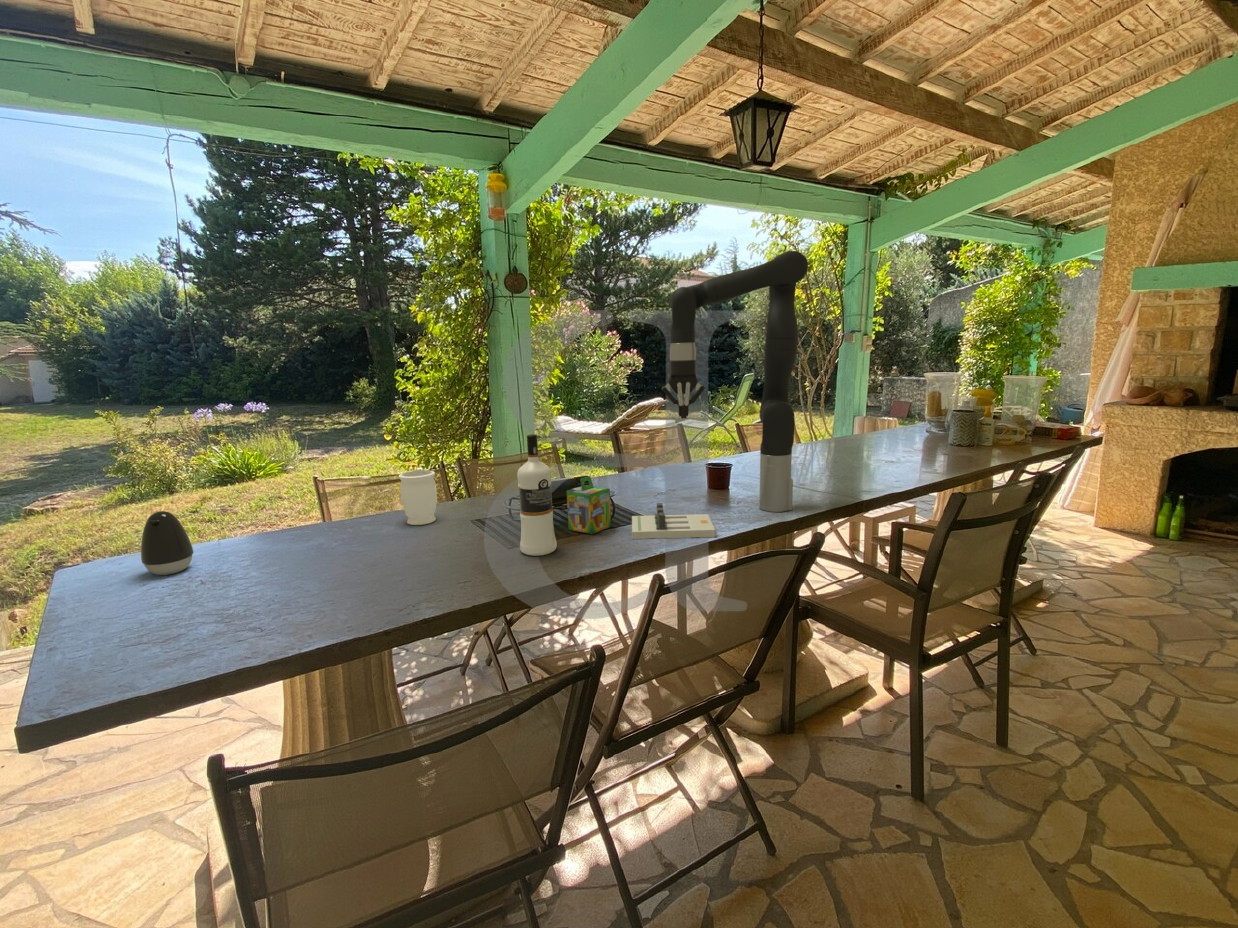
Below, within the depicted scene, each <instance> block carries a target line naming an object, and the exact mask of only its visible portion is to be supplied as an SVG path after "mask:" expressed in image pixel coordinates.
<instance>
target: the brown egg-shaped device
mask: <svg viewBox="0 0 1238 928" xmlns="http://www.w3.org/2000/svg"><path fill="white" fill-rule="evenodd" d="M141 536H142V537H141V544H140V561H141V564H143V565H144V567H145V568H146V570H147V571H148V572H150V573H151V574H154V575H158V576H169V575H174V574H177V573H180V572H182V571H184V570H185V569H187V568H188V567H189V566H190V564H191V562H192V559H193V554H194V549H193V545H192V542H191V540H190V538H189V535H188V533H187V531H186V529H185V528H184V526H183V525H182V522H180V520H179V519H178V517H176V516H175V515H174V514H173V513H172V512H169V511H165V510H160V511H156V512H154V513H152V514H151V515H149V517H148V518H147V520H146V522H145V523H144V527H143V530H142V535H141Z"/></svg>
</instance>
